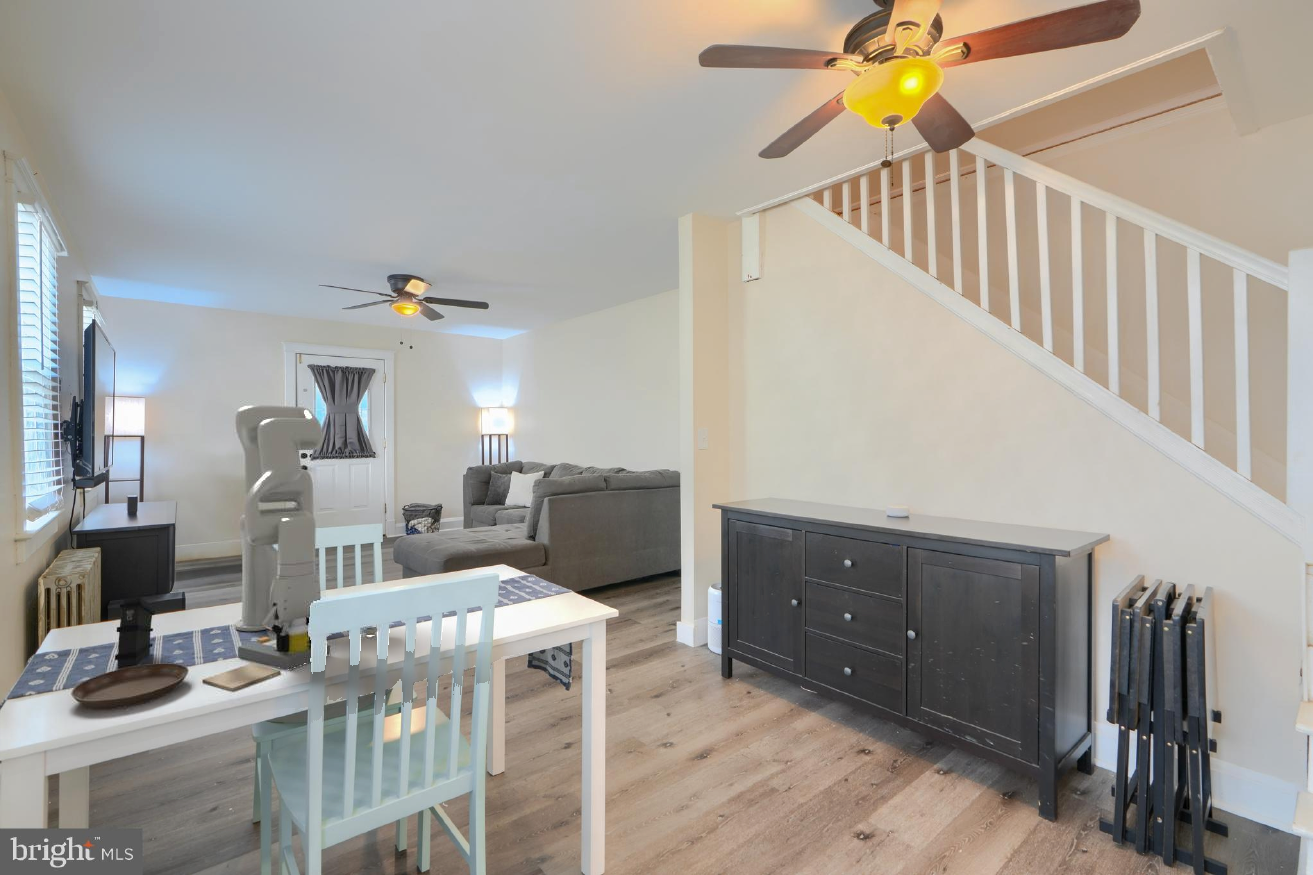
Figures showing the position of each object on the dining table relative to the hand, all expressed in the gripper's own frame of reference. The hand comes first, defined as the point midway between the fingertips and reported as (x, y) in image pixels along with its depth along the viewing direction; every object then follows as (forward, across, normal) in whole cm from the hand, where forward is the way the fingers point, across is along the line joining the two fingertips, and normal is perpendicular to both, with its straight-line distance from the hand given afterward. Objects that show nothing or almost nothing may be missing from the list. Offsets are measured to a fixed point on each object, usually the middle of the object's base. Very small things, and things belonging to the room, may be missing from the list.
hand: (295, 646), depth 139 cm
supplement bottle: (+3, 0, 0) cm, 3 cm away
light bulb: (+3, -19, +2) cm, 19 cm away
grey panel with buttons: (+3, 0, -4) cm, 5 cm away
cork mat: (+3, +12, 0) cm, 12 cm away
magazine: (+3, +16, -32) cm, 36 cm away
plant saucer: (+4, +26, -12) cm, 29 cm away
